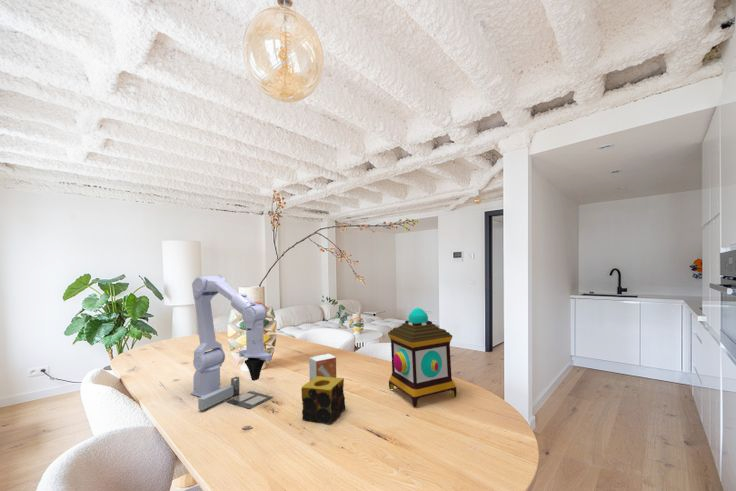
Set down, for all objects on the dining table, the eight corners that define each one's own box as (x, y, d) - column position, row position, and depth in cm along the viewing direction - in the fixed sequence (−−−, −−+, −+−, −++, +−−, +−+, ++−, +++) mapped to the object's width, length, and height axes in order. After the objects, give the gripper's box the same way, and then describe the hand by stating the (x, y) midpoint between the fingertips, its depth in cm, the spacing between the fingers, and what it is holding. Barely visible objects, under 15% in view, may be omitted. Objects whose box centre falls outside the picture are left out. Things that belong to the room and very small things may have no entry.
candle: (346, 409, 98) (345, 377, 99) (332, 425, 88) (331, 390, 89) (317, 406, 101) (317, 375, 102) (301, 421, 92) (300, 386, 92)
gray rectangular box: (228, 394, 111) (228, 385, 111) (233, 395, 110) (233, 385, 110) (198, 408, 100) (198, 398, 101) (203, 409, 99) (203, 399, 100)
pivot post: (229, 395, 112) (229, 379, 112) (236, 393, 114) (236, 376, 115) (234, 397, 110) (234, 380, 111) (241, 394, 113) (241, 377, 113)
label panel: (226, 402, 106) (226, 400, 106) (250, 391, 115) (250, 390, 115) (249, 409, 100) (249, 407, 100) (272, 397, 109) (272, 396, 109)
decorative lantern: (412, 411, 95) (408, 313, 97) (383, 389, 113) (380, 307, 115) (463, 398, 103) (458, 308, 105) (428, 379, 121) (425, 302, 123)
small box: (316, 399, 106) (315, 361, 107) (309, 393, 111) (308, 357, 112) (337, 393, 111) (336, 356, 111) (329, 388, 116) (328, 353, 117)
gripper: (231, 340, 108) (231, 380, 107) (260, 344, 101) (260, 387, 100) (248, 336, 114) (248, 373, 113) (276, 339, 107) (276, 379, 106)
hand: (255, 379), depth 107 cm, fingers closed
